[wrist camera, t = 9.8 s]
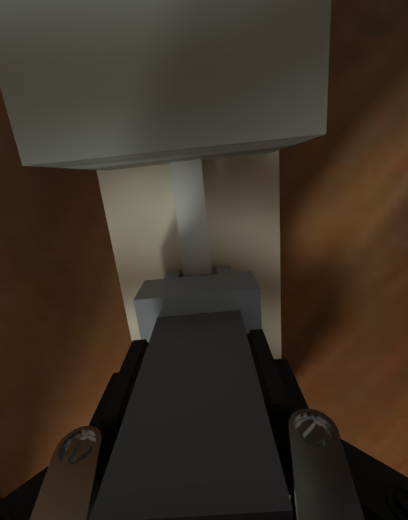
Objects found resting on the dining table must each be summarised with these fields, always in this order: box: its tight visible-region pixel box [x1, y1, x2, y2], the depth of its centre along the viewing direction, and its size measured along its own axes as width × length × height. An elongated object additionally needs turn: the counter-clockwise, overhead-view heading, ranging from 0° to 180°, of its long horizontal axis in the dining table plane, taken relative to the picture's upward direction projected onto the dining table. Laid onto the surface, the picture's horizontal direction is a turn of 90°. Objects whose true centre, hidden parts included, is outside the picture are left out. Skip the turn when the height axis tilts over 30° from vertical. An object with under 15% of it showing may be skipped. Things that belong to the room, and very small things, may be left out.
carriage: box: [89, 266, 293, 520], centre depth 11 cm, size 5×6×12 cm
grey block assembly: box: [0, 0, 331, 359], centre depth 14 cm, size 23×10×8 cm, turn 6°
